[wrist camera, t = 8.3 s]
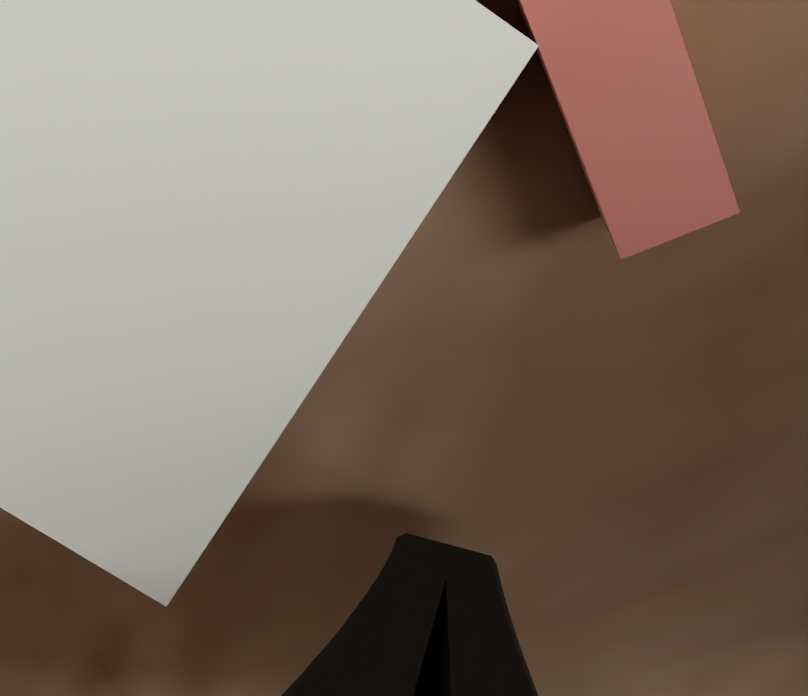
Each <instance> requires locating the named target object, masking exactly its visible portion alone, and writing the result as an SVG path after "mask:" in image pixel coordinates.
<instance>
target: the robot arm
mask: <svg viewBox="0 0 808 696" xmlns="http://www.w3.org/2000/svg"><path fill="white" fill-rule="evenodd" d="M281 696H538V694H537V691H536V689H535V686H534V683H533V681H532V678H531V675H530V673H529V670H528V667H527V665H526V662H525V659H524V657H523V654H522V651H521V648H520V645H519V642H518V639H517V636H516V633H515V630H514V627H513V624H512V621H511V617H510V614H509V611H508V608H507V604H506V601H505V597H504V593H503V590H502V586H501V582H500V577H499V573H498V568H497V564H496V563H495V561H494V559H493V558H492V556H489V555H485V554H482V553H478V552H474V551H471V550H467V549H463V548H460V547H456V546H452V545H448V544H445V543H441V542H437V541H434V540H430V539H426V538H422V537H419V536H415V535H411V534H408V533H406V534H404V535H402V536H399V537H397V539H396V542H395V545H394V547H393V550H392V552H391V554H390V556H389V558H388V560H387V562H386V564H385V565H384V567H383V569H382V570H381V572H380V574H379V575H378V577H377V579H376V580H375V582H374V583H373V585H372V586H371V588H370V589H369V591H368V592H367V594H366V595H365V597H364V598H363V599H362V601H361V602H360V603H359V605H358V606H357V607H356V609H355V610H354V611H353V613H352V614H351V615H350V617H349V618H348V619H347V621H346V622H345V623H344V625H343V626H342V627H341V629H340V630H339V631H338V632H337V634H336V635H335V636H334V637H333V639H332V640H331V641H330V642H329V643H328V644H327V645H326V647H325V648H324V649H323V650H322V651H321V652H320V654H319V655H318V656H317V657H316V658H315V659H314V660H313V662H312V663H311V664H310V665H309V666H308V667H307V669H306V670H305V671H304V672H303V673H302V674H301V675H300V676H299V678H298V679H297V680H296V681H295V682H294V683H293V684H292V685H291V686H290V687H289V688H288V689H287V690H286V691H285V692H284V693H283V694H282V695H281Z"/></svg>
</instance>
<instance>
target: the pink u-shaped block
mask: <svg viewBox="0 0 808 696" xmlns="http://www.w3.org/2000/svg"><path fill="white" fill-rule="evenodd" d="M517 1H518V3H519V6H520V9H521V11H522V14H523V16H524V19H525V21H526V24H527V27H528V29H529V32H530V34H531V37H532V39H533V42H535V43H536V44H537V45H539V46H538V48H537V49H536V50H537V52H538V55H539V57H540V60H541V62H542V65H543V68H544V70H545V73H546V75H547V78H548V80H549V83H550V86H551V88H552V91H553V93H554V96H555V98H556V101H557V103H558V106H559V109H560V111H561V114H562V116H563V119H564V121H565V124H566V127H567V129H568V132H569V134H570V137H571V139H572V142H573V144H574V147H575V150H576V152H577V155H578V157H579V160H580V162H581V165H582V168H583V170H584V173H585V175H586V178H587V180H588V183H589V186H590V188H591V191H592V193H593V196H594V198H595V201H596V203H597V206H598V209H599V211H600V214H601V216H602V219H603V221H604V223H605V225H606V228H607V230H608V232H609V234H610V236H611V239H612V241H613V243H614V245H615V247H616V250H617V252H618V254H619V256H620V258H621V260H622V259H624V258H627V257H629V256H632V255H635V254H637V253H640V252H642V251H645V250H647V249H650V248H652V247H655V246H657V245H660V244H662V243H665V242H667V241H670V240H672V239H675V238H678V237H680V236H683V235H685V234H688V233H690V232H693V231H695V230H698V229H700V228H703V227H705V226H708V225H710V224H713V223H715V222H718V221H721V220H723V219H726V218H728V217H731V216H733V215H736V214H738V213H740V210H739V207H738V204H737V201H736V198H735V195H734V192H733V189H732V186H731V183H730V180H729V177H728V174H727V171H726V167H725V164H724V161H723V158H722V155H721V152H720V149H719V146H718V143H717V140H716V137H715V134H714V131H713V128H712V125H711V122H710V119H709V116H708V113H707V110H706V107H705V104H704V101H703V98H702V95H701V92H700V89H699V86H698V83H697V80H696V77H695V74H694V71H693V68H692V65H691V62H690V59H689V56H688V52H687V49H686V46H685V43H684V40H683V37H682V34H681V31H680V28H679V25H678V22H677V19H676V16H675V13H674V10H673V7H672V4H671V1H670V0H517Z"/></svg>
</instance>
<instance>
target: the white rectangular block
mask: <svg viewBox="0 0 808 696" xmlns="http://www.w3.org/2000/svg"><path fill="white" fill-rule="evenodd" d="M538 46H539V45H537V44H536V43H535V42H533V41H532V40H530V39H529V38H528V37H526V36H525V35H523V34H522V33H521V32H519V31H518V30H516V29H515V28H514V27H512V26H511V25H509V24H508V23H507V22H505V21H504V20H502V19H501V18H500V17H498V16H497V15H495V14H494V13H493V12H491V11H490V10H488V9H487V8H485V7H484V6H483V5H481V4H480V3H478V2H477V1H476V0H0V508H2V509H4V510H5V511H7V512H9V513H10V514H12V515H14V516H15V517H17V518H19V519H20V520H22V521H24V522H25V523H27V524H29V525H30V526H32V527H34V528H35V529H37V530H39V531H40V532H42V533H44V534H45V535H47V536H49V537H50V538H52V539H54V540H55V541H57V542H59V543H61V544H62V545H64V546H66V547H67V548H69V549H71V550H72V551H74V552H76V553H77V554H79V555H81V556H82V557H84V558H86V559H87V560H89V561H91V562H92V563H94V564H96V565H97V566H99V567H101V568H102V569H104V570H106V571H107V572H109V573H111V574H112V575H114V576H116V577H117V578H119V579H121V580H122V581H124V582H126V583H127V584H129V585H131V586H132V587H134V588H136V589H137V590H139V591H141V592H142V593H144V594H146V595H148V596H149V597H151V598H153V599H154V600H156V601H158V602H159V603H161V604H163V605H164V606H166V607H167V605H168V604H169V602H170V601H171V599H172V598H173V596H174V595H175V593H176V592H177V590H178V589H179V587H180V586H181V584H182V583H183V581H184V580H185V578H186V577H187V575H188V573H189V572H190V570H191V569H192V567H193V566H194V564H195V563H196V561H197V560H198V558H199V557H200V555H201V554H202V552H203V551H204V549H205V548H206V546H207V545H208V543H209V542H210V540H211V539H212V537H213V536H214V534H215V533H216V531H217V530H218V528H219V527H220V525H221V524H222V522H223V521H224V519H225V518H226V516H227V515H228V513H229V512H230V510H231V509H232V507H233V506H234V504H235V503H236V501H237V500H238V498H239V497H240V495H241V494H242V492H243V491H244V489H245V488H246V486H247V485H248V483H249V482H250V480H251V479H252V477H253V476H254V474H255V473H256V471H257V470H258V468H259V467H260V465H261V464H262V462H263V461H264V459H265V458H266V456H267V454H268V453H269V451H270V450H271V448H272V447H273V445H274V444H275V442H276V441H277V439H278V438H279V436H280V435H281V433H282V432H283V430H284V429H285V427H286V426H287V424H288V423H289V421H290V420H291V418H292V417H293V415H294V414H295V412H296V411H297V409H298V408H299V406H300V405H301V403H302V402H303V400H304V399H305V397H306V396H307V394H308V393H309V391H310V390H311V388H312V387H313V385H314V384H315V382H316V381H317V379H318V378H319V376H320V375H321V373H322V372H323V370H324V369H325V367H326V366H327V364H328V363H329V361H330V360H331V358H332V357H333V355H334V354H335V352H336V351H337V349H338V348H339V346H340V345H341V343H342V342H343V340H344V338H345V337H346V335H347V334H348V332H349V331H350V329H351V328H352V326H353V325H354V323H355V322H356V320H357V319H358V317H359V316H360V314H361V313H362V311H363V310H364V308H365V307H366V305H367V304H368V302H369V301H370V299H371V298H372V296H373V295H374V293H375V292H376V290H377V289H378V287H379V286H380V284H381V283H382V281H383V280H384V278H385V277H386V275H387V274H388V272H389V271H390V269H391V268H392V266H393V265H394V263H395V262H396V260H397V259H398V257H399V256H400V254H401V253H402V251H403V250H404V248H405V247H406V245H407V244H408V242H409V241H410V239H411V238H412V236H413V235H414V233H415V232H416V230H417V229H418V227H419V226H420V224H421V222H422V221H423V219H424V218H425V216H426V215H427V213H428V212H429V210H430V209H431V207H432V206H433V204H434V203H435V201H436V200H437V198H438V197H439V195H440V194H441V192H442V191H443V189H444V188H445V186H446V185H447V183H448V182H449V180H450V179H451V177H452V176H453V174H454V173H455V171H456V170H457V168H458V167H459V165H460V164H461V162H462V161H463V159H464V158H465V156H466V155H467V153H468V152H469V150H470V149H471V147H472V146H473V144H474V143H475V141H476V140H477V138H478V137H479V135H480V134H481V132H482V131H483V129H484V128H485V126H486V125H487V123H488V122H489V120H490V119H491V117H492V116H493V114H494V113H495V111H496V110H497V108H498V107H499V105H500V103H501V102H502V100H503V99H504V97H505V96H506V94H507V93H508V91H509V90H510V88H511V87H512V85H513V84H514V82H515V81H516V79H517V78H518V76H519V75H520V73H521V72H522V70H523V69H524V67H525V66H526V64H527V63H528V61H529V60H530V58H531V57H532V55H533V54H534V52H535V51H536V49H537V48H538Z"/></svg>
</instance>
